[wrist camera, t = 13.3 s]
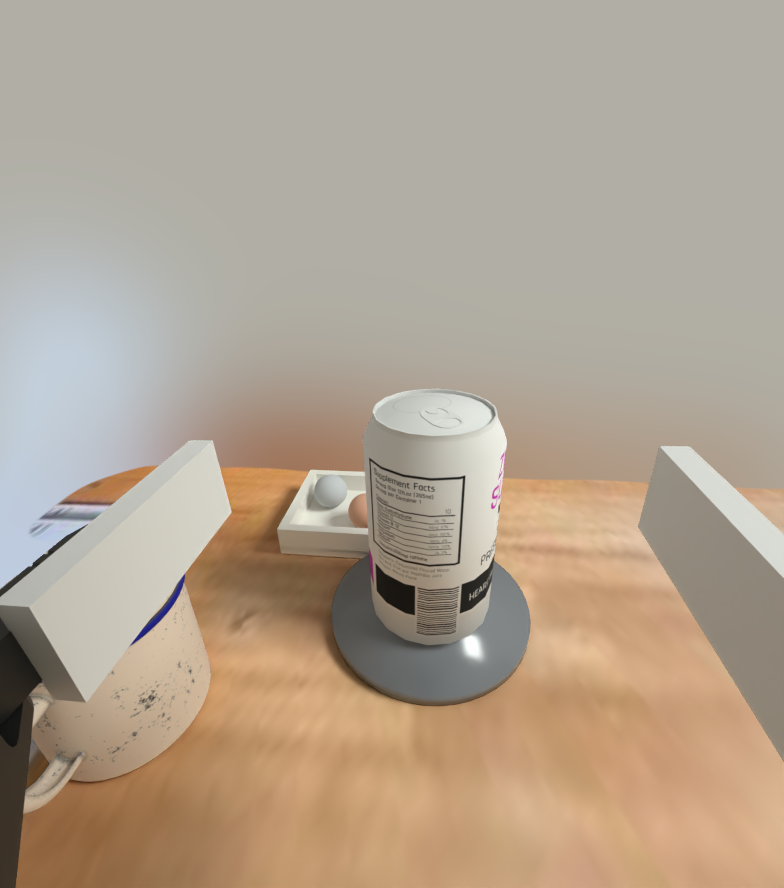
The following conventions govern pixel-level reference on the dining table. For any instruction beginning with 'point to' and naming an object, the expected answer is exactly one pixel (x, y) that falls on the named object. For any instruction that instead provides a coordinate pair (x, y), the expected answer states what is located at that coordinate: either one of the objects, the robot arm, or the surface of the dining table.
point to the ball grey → (330, 490)
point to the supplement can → (433, 511)
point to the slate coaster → (430, 666)
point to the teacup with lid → (125, 705)
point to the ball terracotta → (358, 511)
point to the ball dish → (324, 521)
